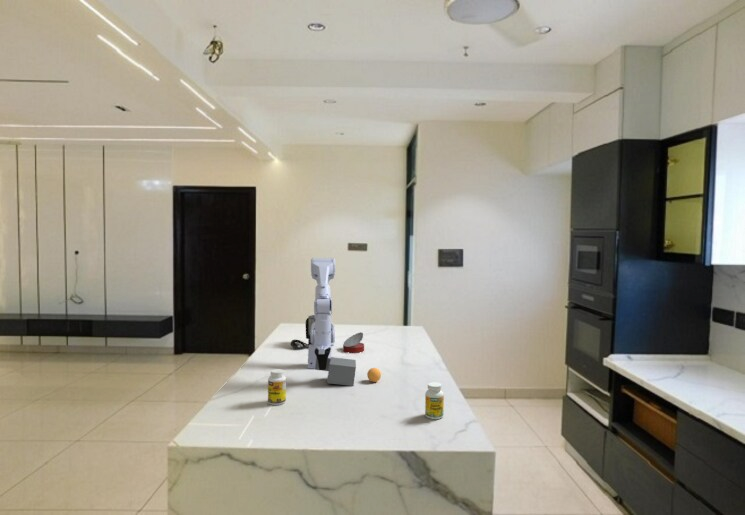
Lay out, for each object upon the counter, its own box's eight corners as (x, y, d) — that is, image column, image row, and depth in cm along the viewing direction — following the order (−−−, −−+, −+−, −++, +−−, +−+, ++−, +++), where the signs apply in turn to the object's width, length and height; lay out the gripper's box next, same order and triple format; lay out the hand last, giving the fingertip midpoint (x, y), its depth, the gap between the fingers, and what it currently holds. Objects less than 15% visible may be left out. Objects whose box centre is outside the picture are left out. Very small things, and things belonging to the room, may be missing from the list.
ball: (367, 383, 160) (367, 370, 160) (367, 379, 165) (367, 366, 165) (381, 383, 161) (381, 370, 160) (380, 379, 166) (380, 366, 165)
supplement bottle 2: (439, 412, 135) (440, 380, 135) (446, 419, 130) (446, 386, 129) (422, 413, 134) (423, 381, 133) (428, 420, 129) (429, 387, 128)
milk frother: (331, 346, 215) (331, 316, 214) (309, 353, 202) (309, 320, 201) (308, 342, 223) (308, 313, 222) (286, 348, 209) (286, 317, 209)
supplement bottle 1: (264, 404, 139) (264, 372, 139) (273, 398, 145) (273, 367, 144) (280, 406, 138) (280, 374, 137) (289, 400, 143) (289, 369, 143)
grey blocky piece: (312, 381, 157) (315, 360, 157) (315, 373, 166) (317, 353, 166) (353, 386, 158) (356, 364, 158) (353, 377, 167) (355, 357, 167)
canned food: (361, 362, 204) (362, 346, 199) (340, 359, 206) (340, 342, 201) (366, 346, 214) (367, 330, 209) (346, 343, 215) (346, 327, 210)
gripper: (333, 336, 154) (332, 374, 155) (334, 327, 169) (334, 363, 169) (312, 336, 154) (312, 374, 154) (315, 327, 168) (315, 363, 169)
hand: (322, 368), depth 162 cm, fingers closed on grey blocky piece
